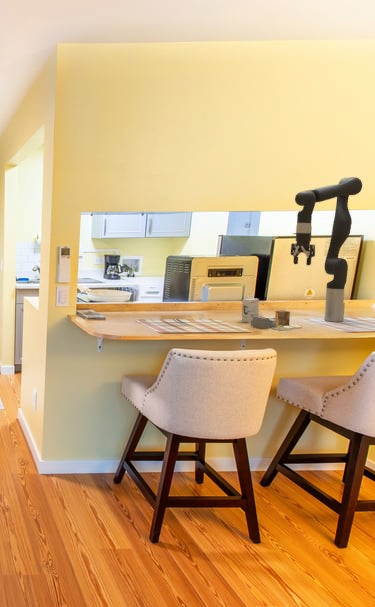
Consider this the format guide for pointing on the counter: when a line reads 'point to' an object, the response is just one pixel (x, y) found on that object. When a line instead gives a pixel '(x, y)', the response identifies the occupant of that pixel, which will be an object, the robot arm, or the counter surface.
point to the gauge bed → (264, 324)
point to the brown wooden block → (283, 317)
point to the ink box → (249, 309)
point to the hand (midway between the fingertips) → (302, 264)
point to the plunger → (274, 322)
